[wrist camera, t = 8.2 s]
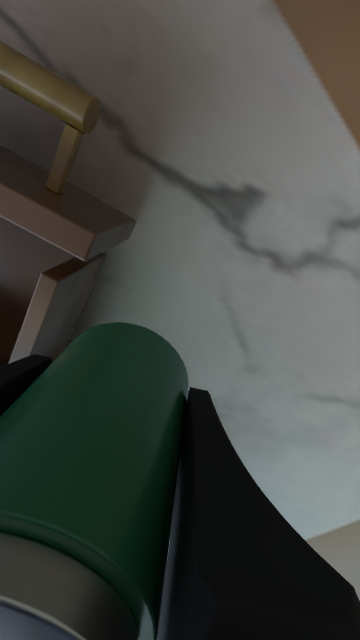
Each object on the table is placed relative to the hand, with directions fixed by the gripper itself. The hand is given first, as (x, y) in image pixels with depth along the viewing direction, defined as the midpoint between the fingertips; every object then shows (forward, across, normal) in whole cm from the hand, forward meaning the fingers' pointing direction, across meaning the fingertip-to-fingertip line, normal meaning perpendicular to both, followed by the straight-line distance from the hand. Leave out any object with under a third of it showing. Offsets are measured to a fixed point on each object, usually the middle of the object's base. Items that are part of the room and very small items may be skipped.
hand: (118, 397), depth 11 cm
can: (+1, 0, 0) cm, 1 cm away
